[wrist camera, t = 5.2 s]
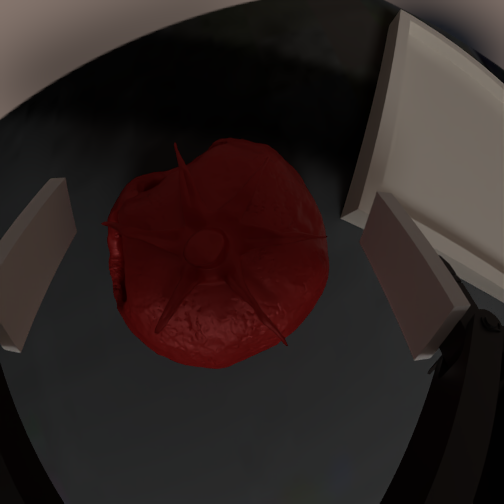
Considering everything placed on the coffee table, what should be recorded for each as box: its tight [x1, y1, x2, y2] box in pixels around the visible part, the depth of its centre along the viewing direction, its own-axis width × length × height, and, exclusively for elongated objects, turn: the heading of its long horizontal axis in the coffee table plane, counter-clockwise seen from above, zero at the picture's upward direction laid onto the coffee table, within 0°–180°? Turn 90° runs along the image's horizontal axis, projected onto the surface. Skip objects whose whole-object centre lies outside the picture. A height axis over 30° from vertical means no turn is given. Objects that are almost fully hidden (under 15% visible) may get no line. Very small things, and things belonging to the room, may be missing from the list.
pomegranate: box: [101, 138, 329, 369], centre depth 13 cm, size 10×10×9 cm
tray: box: [340, 10, 504, 303], centre depth 20 cm, size 20×20×2 cm
